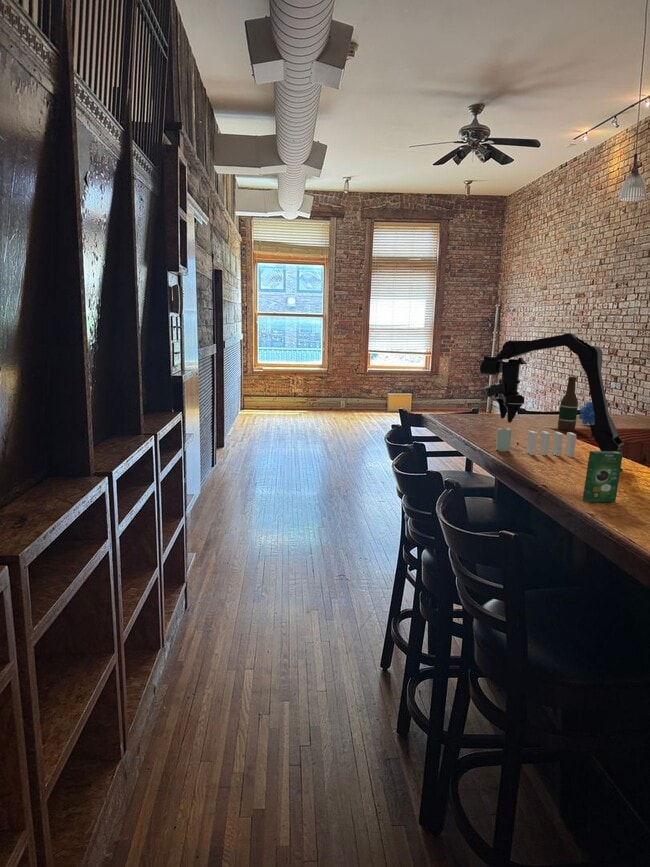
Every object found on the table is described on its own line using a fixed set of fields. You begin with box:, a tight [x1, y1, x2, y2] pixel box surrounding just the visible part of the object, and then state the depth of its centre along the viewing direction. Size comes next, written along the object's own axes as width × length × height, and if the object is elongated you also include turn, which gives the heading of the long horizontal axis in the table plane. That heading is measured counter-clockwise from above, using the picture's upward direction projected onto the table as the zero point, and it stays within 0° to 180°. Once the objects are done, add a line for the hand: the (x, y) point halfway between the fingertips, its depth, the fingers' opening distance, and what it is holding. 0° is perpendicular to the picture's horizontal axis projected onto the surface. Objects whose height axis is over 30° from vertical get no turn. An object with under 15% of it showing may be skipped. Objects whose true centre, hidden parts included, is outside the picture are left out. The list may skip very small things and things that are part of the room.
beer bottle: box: [557, 376, 579, 432], centre depth 246 cm, size 8×8×24 cm
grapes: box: [578, 401, 595, 425], centre depth 263 cm, size 12×7×12 cm, turn 64°
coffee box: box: [582, 450, 624, 504], centre depth 139 cm, size 8×3×13 cm, turn 102°
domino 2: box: [525, 430, 538, 456], centre depth 193 cm, size 5×2×8 cm, turn 177°
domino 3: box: [538, 430, 551, 456], centre depth 193 cm, size 5×2×8 cm, turn 177°
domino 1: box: [495, 428, 513, 452], centre depth 196 cm, size 5×2×8 cm, turn 87°
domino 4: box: [551, 431, 564, 457], centre depth 193 cm, size 5×2×8 cm, turn 177°
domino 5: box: [564, 431, 577, 458], centre depth 192 cm, size 5×2×8 cm, turn 177°
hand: (505, 420), depth 195 cm, fingers open, 9 cm apart
